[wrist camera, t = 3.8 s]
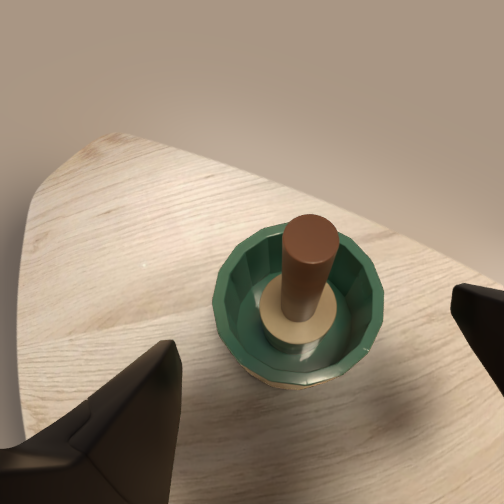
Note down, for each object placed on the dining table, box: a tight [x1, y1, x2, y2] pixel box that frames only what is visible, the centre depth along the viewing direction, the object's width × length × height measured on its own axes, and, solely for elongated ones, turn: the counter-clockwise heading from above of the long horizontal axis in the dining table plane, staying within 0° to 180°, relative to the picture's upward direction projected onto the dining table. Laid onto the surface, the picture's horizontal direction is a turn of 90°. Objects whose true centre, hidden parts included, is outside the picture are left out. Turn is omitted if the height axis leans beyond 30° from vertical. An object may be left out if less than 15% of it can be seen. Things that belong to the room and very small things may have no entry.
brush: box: [259, 214, 339, 355], centre depth 15 cm, size 4×4×10 cm
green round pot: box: [212, 222, 384, 390], centre depth 17 cm, size 8×8×6 cm
